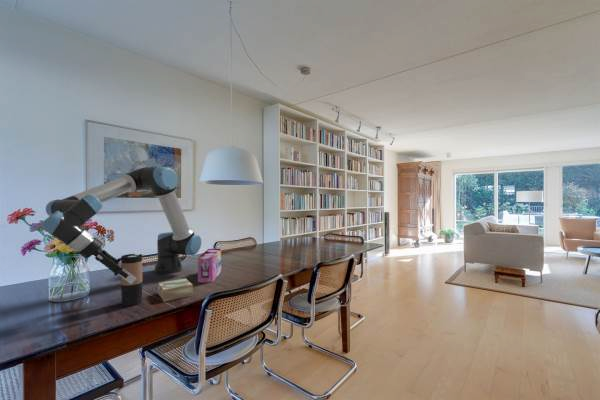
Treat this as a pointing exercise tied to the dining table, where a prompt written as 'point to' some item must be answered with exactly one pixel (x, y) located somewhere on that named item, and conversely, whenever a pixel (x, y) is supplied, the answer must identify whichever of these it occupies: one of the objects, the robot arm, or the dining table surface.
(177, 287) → the pedestal
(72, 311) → the dining table surface
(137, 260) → the travel mug
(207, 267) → the gum box
